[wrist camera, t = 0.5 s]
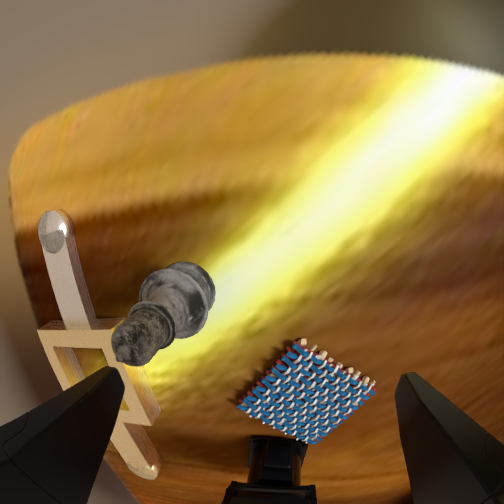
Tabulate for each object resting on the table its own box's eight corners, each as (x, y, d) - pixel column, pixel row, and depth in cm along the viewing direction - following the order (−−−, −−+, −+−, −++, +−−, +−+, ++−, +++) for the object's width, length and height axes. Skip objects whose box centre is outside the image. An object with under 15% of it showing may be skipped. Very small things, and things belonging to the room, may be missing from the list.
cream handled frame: (161, 409, 29) (156, 417, 28) (87, 400, 31) (81, 406, 30) (96, 195, 25) (86, 196, 23) (26, 222, 27) (17, 223, 25)
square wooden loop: (192, 470, 31) (186, 485, 29) (122, 458, 33) (114, 471, 30) (125, 316, 27) (110, 329, 24) (52, 320, 29) (36, 329, 26)
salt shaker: (144, 285, 26) (62, 344, 14) (186, 244, 25) (106, 289, 13) (187, 332, 26) (129, 414, 15) (232, 295, 25) (188, 376, 13)
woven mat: (314, 438, 28) (314, 450, 26) (235, 398, 28) (232, 411, 26) (379, 380, 26) (384, 391, 24) (297, 329, 26) (297, 340, 24)
